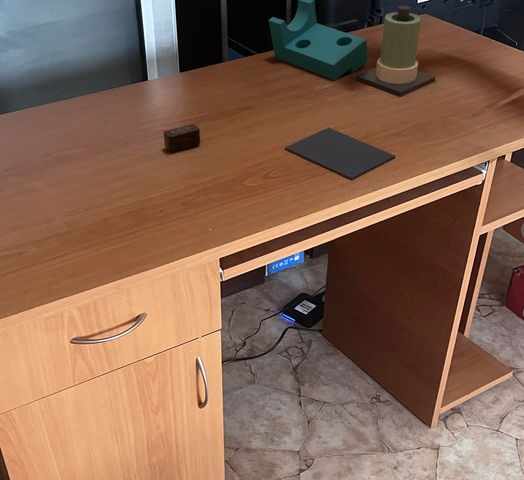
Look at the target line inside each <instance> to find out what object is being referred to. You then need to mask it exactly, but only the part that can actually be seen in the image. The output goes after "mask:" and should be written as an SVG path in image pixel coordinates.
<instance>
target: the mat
mask: <svg viewBox="0 0 524 480" xmlns="http://www.w3.org/2000/svg"><path fill="white" fill-rule="evenodd" d="M284 150H285V151H288V152H290V153H292V154H293V155H297V156H299V157H301V158H302V159H305V160H307V161H310V162H311V163H314V164H315V165H318V166H320V167H321V168H324V169H327V170H328V171H331V172H333V173H335V174H337V175H339V176H342V177H344V178H346V179H348V180H350V181H353V180H355V179H357V178H358V177H360V176H362V175H365V174H367V173H368V172H371V171H372V170H374V169H377V168H378V167H380V166H383V165H384V164H386V163H388V162H390V161H392V160H393V159H396V155H395V154H393V153H390V152H388V151H385V150H383V149H380V148H378V147H377V146H376V147H375V146H373V145H372V144H368V143H366V142H364V141H362V140H360V139H357V138H356V137H355V138H354V137H352V136H350V135H347V134H345V133H343V132H340V131H338V130H336V129H334V128H331V127H327V128H325V129H322V130H320V131H317V132H315V133H314V134H311V135H308V136H307V137H305V138H302V139H300V140H298V141H296V142H294V143H292V144H289V145H287V146H285V147H284Z"/></svg>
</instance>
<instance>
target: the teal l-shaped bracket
mask: <svg viewBox="0 0 524 480" xmlns="http://www.w3.org/2000/svg"><path fill="white" fill-rule="evenodd" d="M315 5H316V4H315V0H297V9H296V13H295V15H294V17H293V19H292V20H291V22H290V23H289V24H288V25H287V24H286V21H285V20H284V19H280V18H277V17H275V16H272V17H271V18H269V19H268V26H269V31H270V37H271V42H272V47H273V48H272V49H273V52H274V57H275V58H276V59H278V60H281V61H284V62H285V63H289V64H291V65H294V66H296V67H299V68H301V69H304V70H307V71H309V72H313V73H315V74H317V75H320V76H323V77H325V78H328V79H330V80H333V81H336V80H337V79H339V78H340V77H341V76H342V75H344V74H345V73H350V74H353V73H355V72H356V71H357V70H359V69H360V68H361V67H362V66H364V65H365V64H366V63H368V62H369V54H368V42H367V39H365V38H363V37H360V36H356V35H354V34H351V33H348V32H344V31H341V30H338V29H335V28H332V27H330V26H327V25H323V24H320V23H318V20H317V13H316V6H315Z"/></svg>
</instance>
